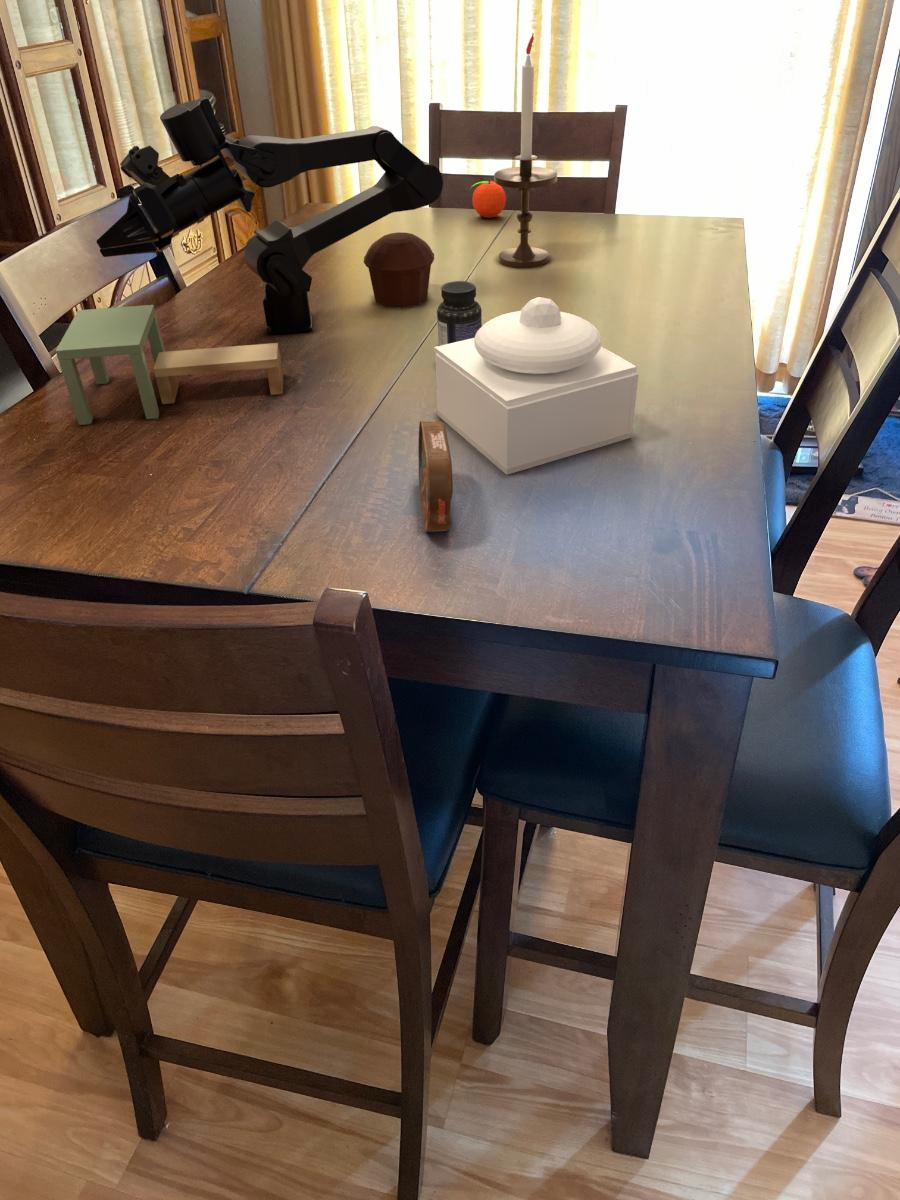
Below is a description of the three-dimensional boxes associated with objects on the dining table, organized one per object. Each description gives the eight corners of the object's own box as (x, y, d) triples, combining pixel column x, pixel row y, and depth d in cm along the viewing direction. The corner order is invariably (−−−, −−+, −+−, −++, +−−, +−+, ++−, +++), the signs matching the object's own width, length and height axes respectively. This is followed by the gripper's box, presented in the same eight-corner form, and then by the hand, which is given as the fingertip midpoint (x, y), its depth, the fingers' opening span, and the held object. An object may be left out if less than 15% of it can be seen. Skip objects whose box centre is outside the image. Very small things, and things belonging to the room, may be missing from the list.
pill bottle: (487, 358, 126) (487, 281, 119) (474, 375, 122) (473, 296, 115) (447, 354, 128) (444, 277, 121) (432, 370, 123) (429, 292, 116)
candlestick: (563, 255, 162) (575, 29, 140) (536, 272, 155) (543, 37, 133) (512, 247, 166) (515, 27, 145) (483, 263, 159) (481, 35, 138)
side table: (170, 374, 125) (153, 304, 119) (158, 418, 114) (139, 344, 108) (98, 380, 124) (77, 310, 118) (79, 425, 113) (55, 350, 107)
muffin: (394, 317, 140) (390, 253, 134) (352, 298, 147) (347, 236, 140) (449, 297, 146) (448, 235, 140) (407, 280, 153) (404, 220, 146)
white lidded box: (506, 475, 100) (508, 340, 90) (435, 413, 113) (430, 289, 103) (632, 437, 106) (646, 307, 96) (551, 383, 119) (556, 263, 109)
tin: (417, 474, 101) (413, 407, 96) (445, 472, 101) (442, 405, 96) (426, 549, 89) (421, 476, 84) (457, 546, 89) (454, 474, 84)
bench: (283, 377, 123) (277, 342, 120) (282, 394, 119) (277, 358, 116) (167, 386, 122) (158, 352, 119) (162, 404, 117) (153, 368, 114)
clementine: (465, 221, 181) (464, 184, 176) (470, 212, 186) (469, 176, 182) (503, 222, 180) (504, 184, 175) (507, 212, 185) (507, 176, 181)
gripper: (163, 151, 127) (68, 203, 125) (166, 118, 110) (55, 177, 108) (207, 225, 131) (115, 277, 129) (217, 204, 114) (111, 263, 112)
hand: (99, 249), depth 119 cm, fingers open, 9 cm apart
